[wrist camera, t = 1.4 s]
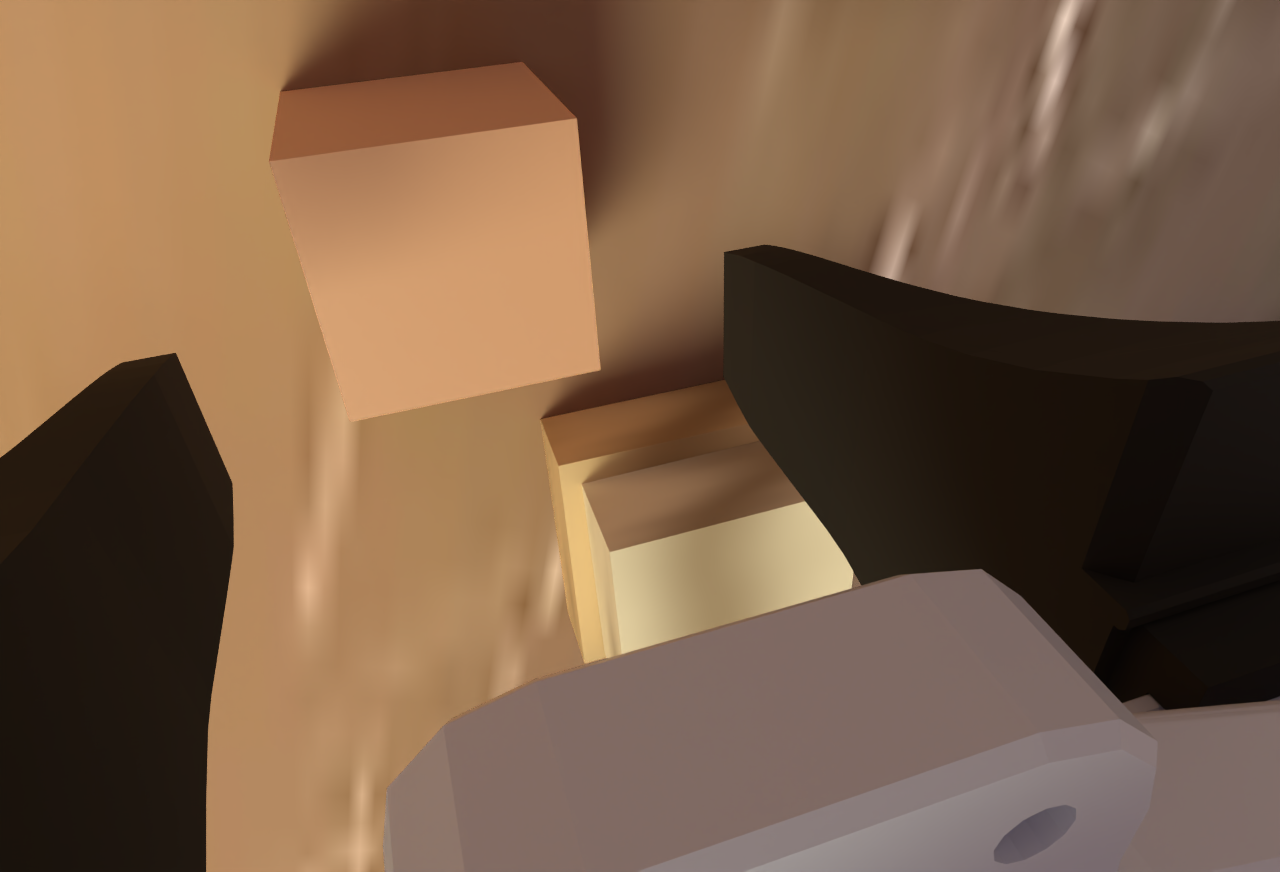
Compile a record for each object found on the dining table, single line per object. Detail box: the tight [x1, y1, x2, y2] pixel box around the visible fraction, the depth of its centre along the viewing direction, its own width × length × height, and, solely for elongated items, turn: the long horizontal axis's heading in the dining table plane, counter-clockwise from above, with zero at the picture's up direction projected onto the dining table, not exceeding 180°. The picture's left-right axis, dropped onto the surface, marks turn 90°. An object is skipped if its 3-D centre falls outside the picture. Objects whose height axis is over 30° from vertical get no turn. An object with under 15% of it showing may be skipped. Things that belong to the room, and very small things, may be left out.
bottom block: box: [540, 380, 760, 663], centre depth 23 cm, size 7×7×2 cm
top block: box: [582, 441, 853, 658], centre depth 21 cm, size 6×6×2 cm
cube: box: [269, 62, 601, 422], centre depth 15 cm, size 4×4×4 cm
